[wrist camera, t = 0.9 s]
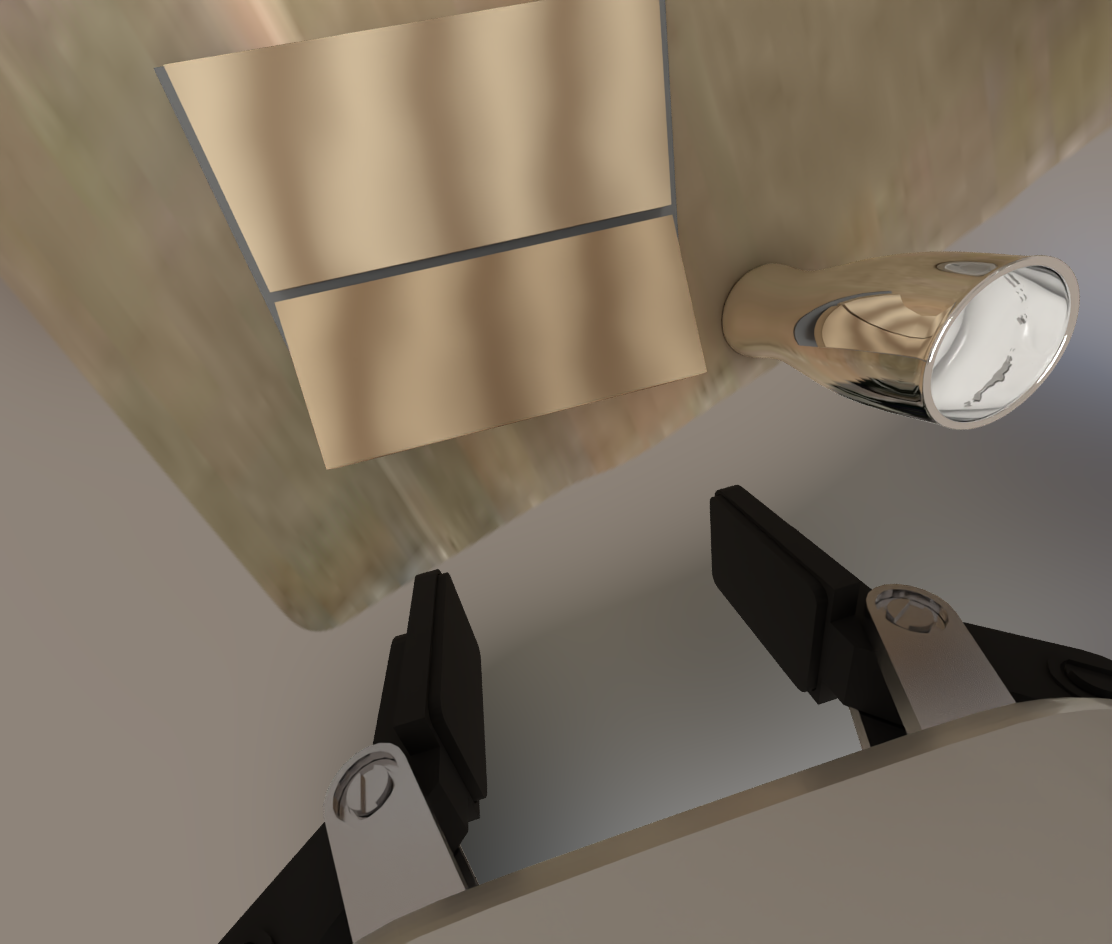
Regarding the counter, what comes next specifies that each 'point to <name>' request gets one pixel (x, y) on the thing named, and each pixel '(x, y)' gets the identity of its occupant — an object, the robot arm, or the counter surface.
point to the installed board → (434, 134)
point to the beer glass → (913, 329)
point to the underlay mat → (430, 262)
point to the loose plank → (492, 340)
